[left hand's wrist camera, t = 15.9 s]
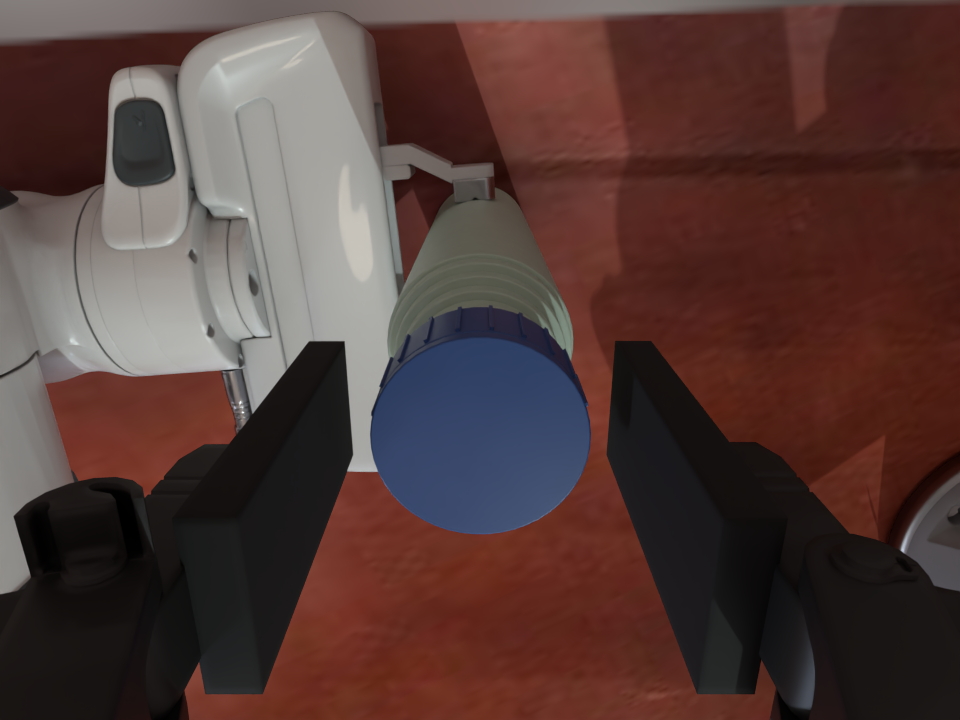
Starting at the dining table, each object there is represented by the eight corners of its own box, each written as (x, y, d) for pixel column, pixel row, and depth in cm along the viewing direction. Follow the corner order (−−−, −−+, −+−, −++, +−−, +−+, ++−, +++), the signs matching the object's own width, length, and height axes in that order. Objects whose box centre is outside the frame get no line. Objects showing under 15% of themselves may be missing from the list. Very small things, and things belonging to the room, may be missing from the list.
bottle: (414, 228, 35) (298, 421, 13) (483, 164, 34) (490, 249, 12) (476, 295, 37) (471, 577, 14) (545, 235, 35) (660, 437, 13)
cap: (471, 516, 15) (471, 573, 13) (340, 390, 14) (319, 432, 12) (617, 406, 14) (639, 451, 12) (488, 261, 13) (490, 285, 11)
